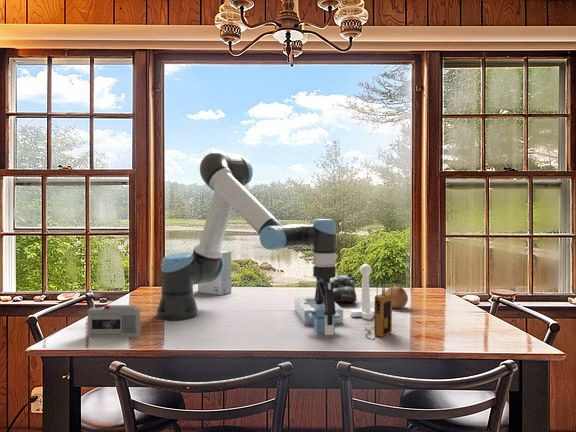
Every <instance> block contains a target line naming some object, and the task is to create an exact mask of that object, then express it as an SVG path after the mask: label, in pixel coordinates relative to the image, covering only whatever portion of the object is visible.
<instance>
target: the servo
mask: <svg viewBox="0 0 576 432" xmlns="http://www.w3.org/2000/svg"><path fill="white" fill-rule="evenodd" d="M324 312H326V311H325V306H321V307H314V311H312V313H308V316H309V317H310V319H314V324H313V331H314V332H315V334H316V333H317V334H316V335H325V315H324ZM335 318H341V316H340V315H339V314H338V313H337V312H336V314H334V334H336V333H335V331H336V329H335V326H336V324H335Z"/></svg>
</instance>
